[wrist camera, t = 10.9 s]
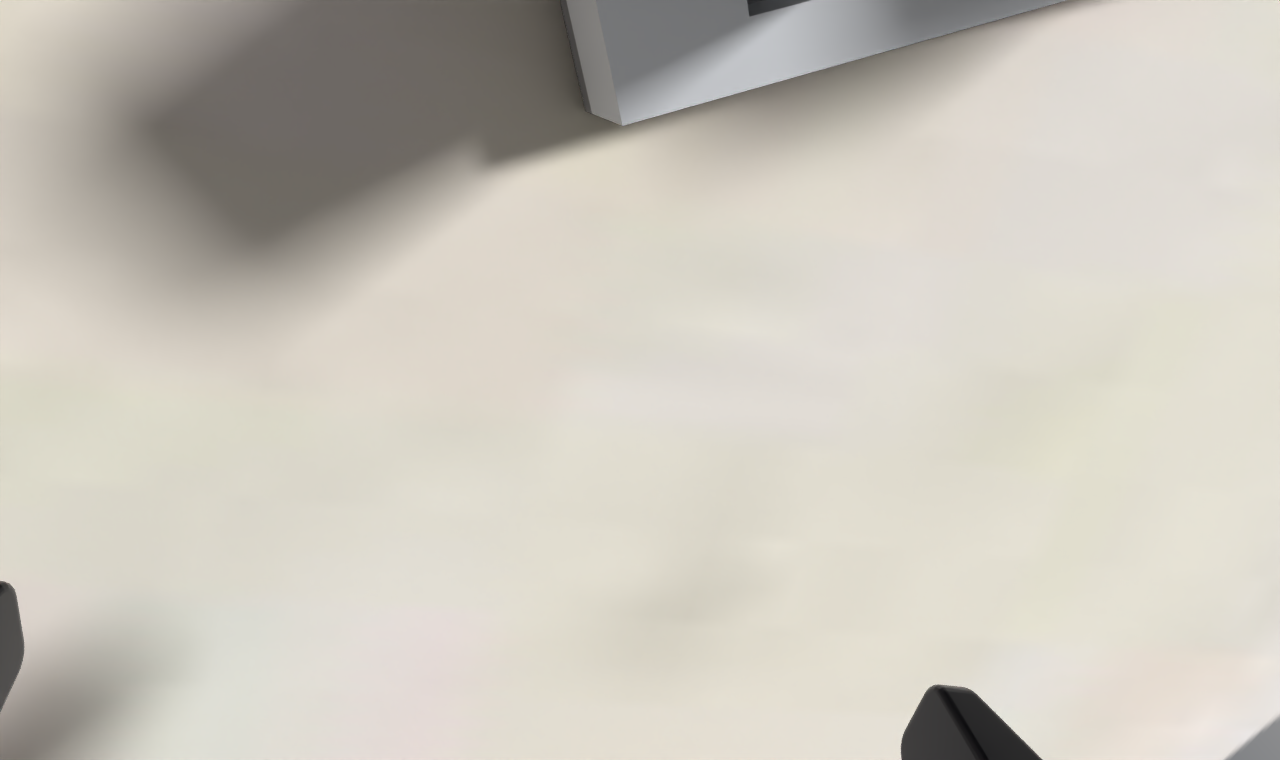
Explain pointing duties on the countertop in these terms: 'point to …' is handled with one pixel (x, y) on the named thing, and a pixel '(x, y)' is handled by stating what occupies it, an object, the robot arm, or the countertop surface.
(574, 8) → the light grey recessed block
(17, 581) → the countertop surface
